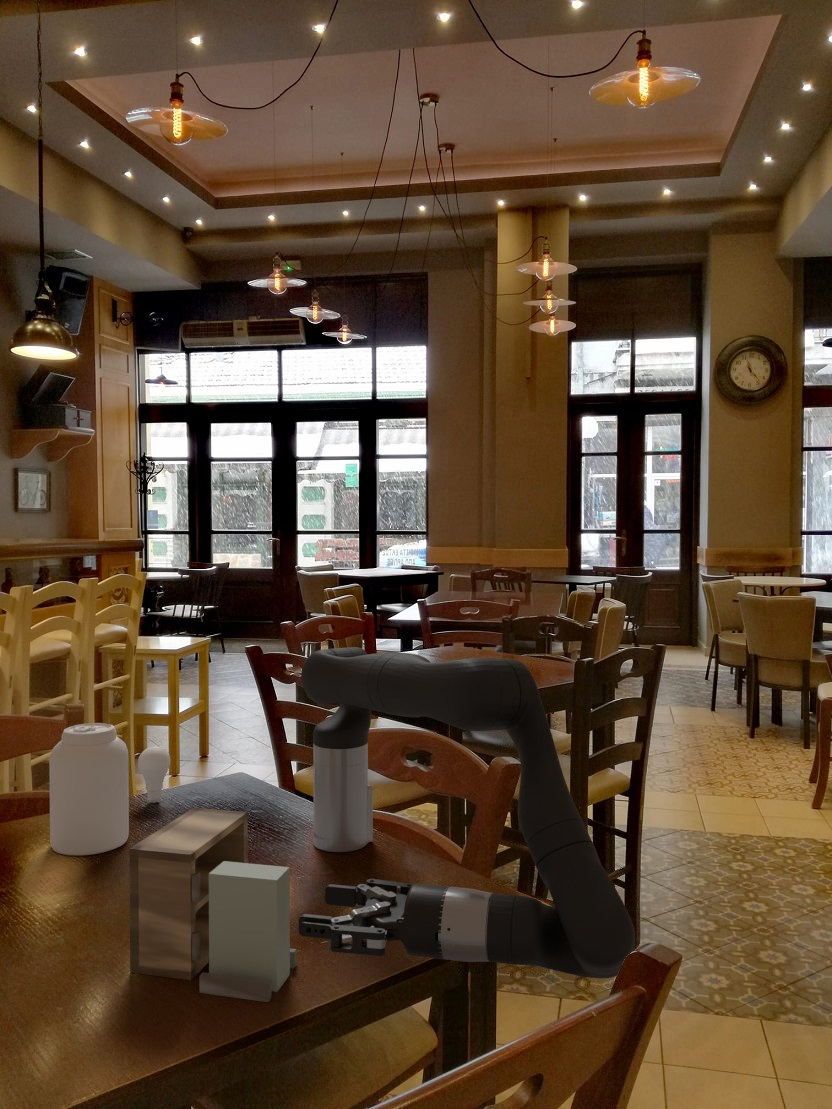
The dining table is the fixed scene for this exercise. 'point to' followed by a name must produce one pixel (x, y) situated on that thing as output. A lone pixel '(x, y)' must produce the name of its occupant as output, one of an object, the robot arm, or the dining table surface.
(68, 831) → the can
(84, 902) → the dining table surface
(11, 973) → the dining table surface
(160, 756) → the lightbulb
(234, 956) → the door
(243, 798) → the dining table surface
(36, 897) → the dining table surface
